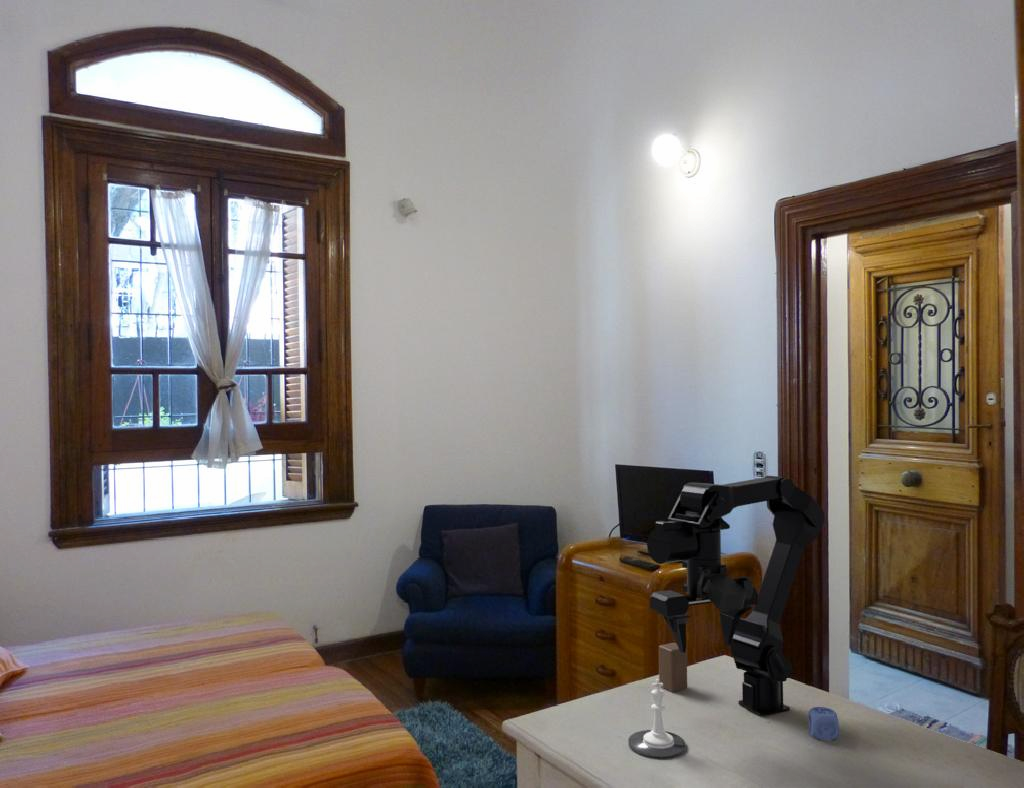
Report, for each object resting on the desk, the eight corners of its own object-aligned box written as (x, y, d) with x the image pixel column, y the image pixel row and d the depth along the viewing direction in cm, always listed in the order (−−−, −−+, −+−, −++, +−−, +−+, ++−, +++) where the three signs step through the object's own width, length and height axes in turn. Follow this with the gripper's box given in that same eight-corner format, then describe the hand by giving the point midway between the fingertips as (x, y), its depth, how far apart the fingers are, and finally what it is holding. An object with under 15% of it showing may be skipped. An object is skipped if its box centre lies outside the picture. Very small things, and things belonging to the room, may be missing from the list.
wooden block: (672, 693, 145) (671, 650, 145) (658, 686, 148) (657, 645, 148) (688, 688, 147) (687, 647, 147) (674, 682, 150) (673, 641, 150)
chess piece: (679, 747, 120) (678, 683, 120) (649, 750, 119) (648, 686, 119) (666, 734, 125) (665, 672, 125) (638, 737, 124) (637, 675, 124)
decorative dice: (808, 730, 128) (807, 705, 128) (833, 731, 127) (833, 707, 127) (813, 740, 124) (812, 715, 124) (839, 741, 123) (838, 716, 123)
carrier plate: (664, 729, 128) (664, 726, 128) (697, 751, 120) (696, 748, 120) (618, 739, 125) (617, 735, 125) (648, 762, 116) (648, 758, 116)
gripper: (686, 571, 119) (688, 671, 119) (780, 560, 126) (782, 655, 126) (647, 558, 129) (648, 651, 129) (736, 549, 137) (737, 636, 136)
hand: (705, 648), depth 130 cm, fingers open, 9 cm apart
